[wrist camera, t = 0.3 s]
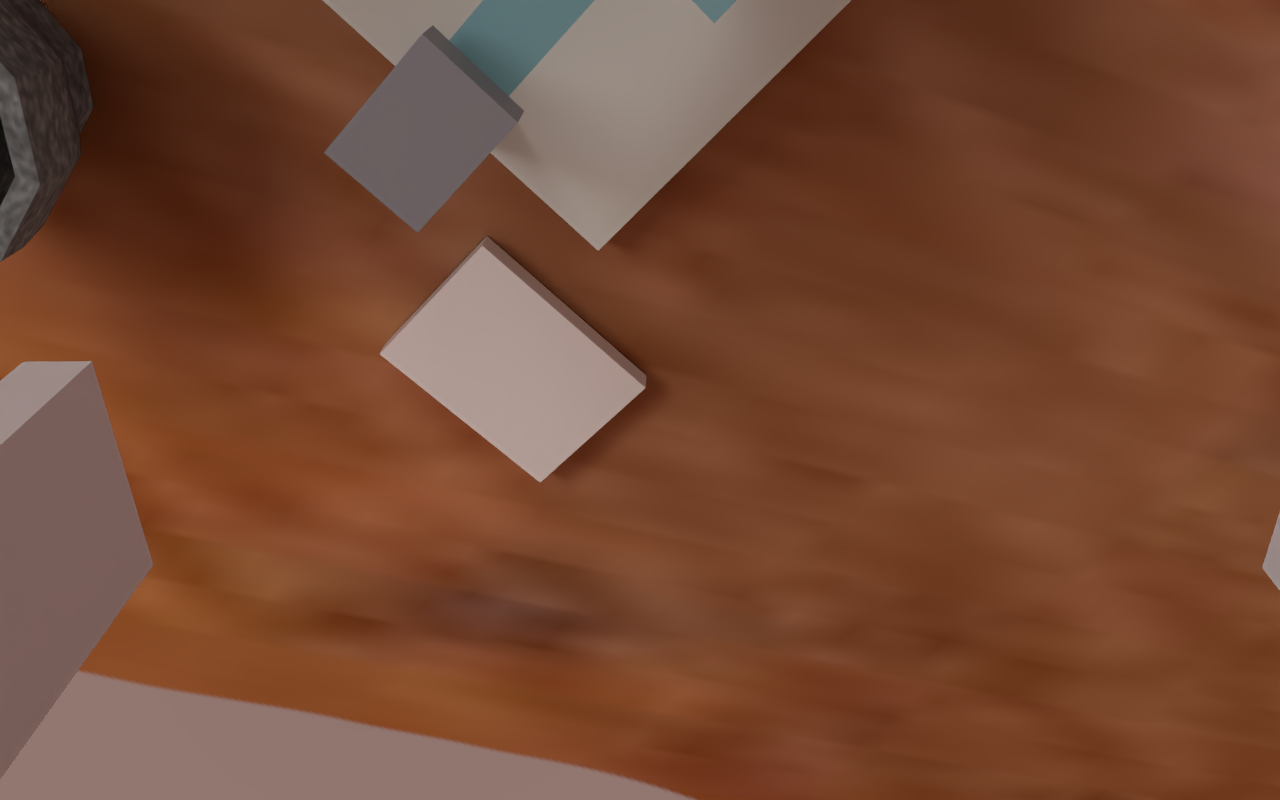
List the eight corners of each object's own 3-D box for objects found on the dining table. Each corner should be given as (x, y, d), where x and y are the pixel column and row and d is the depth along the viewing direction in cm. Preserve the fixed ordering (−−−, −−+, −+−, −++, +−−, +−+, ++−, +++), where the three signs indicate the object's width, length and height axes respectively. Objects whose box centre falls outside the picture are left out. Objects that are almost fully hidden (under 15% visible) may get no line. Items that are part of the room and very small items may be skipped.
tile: (386, 342, 41) (379, 354, 40) (487, 235, 39) (482, 245, 38) (543, 469, 43) (540, 482, 42) (646, 375, 41) (645, 387, 40)
